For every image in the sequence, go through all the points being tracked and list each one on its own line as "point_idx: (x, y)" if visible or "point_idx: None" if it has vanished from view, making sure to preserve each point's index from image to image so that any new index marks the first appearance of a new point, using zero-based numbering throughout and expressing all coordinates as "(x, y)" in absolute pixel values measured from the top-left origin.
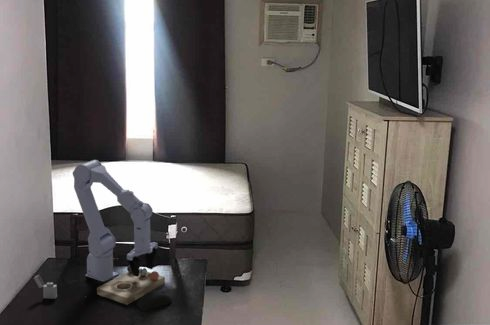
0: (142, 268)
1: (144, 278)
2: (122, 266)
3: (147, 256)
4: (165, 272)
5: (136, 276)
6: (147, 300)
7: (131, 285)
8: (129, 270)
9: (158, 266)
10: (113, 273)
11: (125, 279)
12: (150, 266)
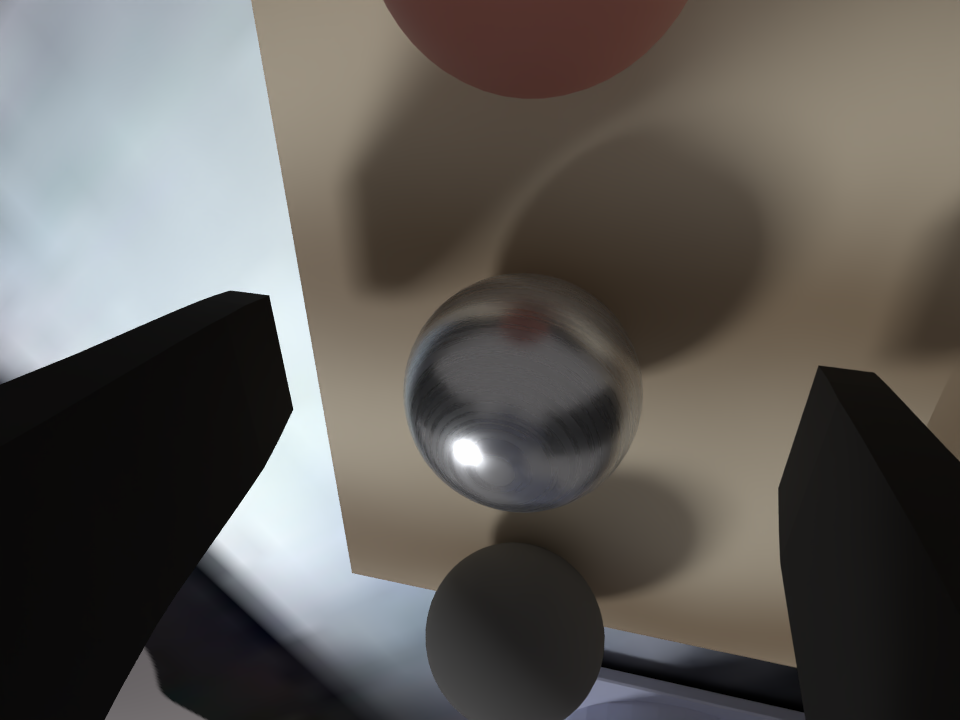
0: (517, 469)
1: (634, 230)
2: (343, 676)
3: (67, 681)
4: (14, 140)
5: None
6: None
7: None
8: (603, 637)
9: (10, 355)
10: (579, 706)
11: None
12: (236, 362)
